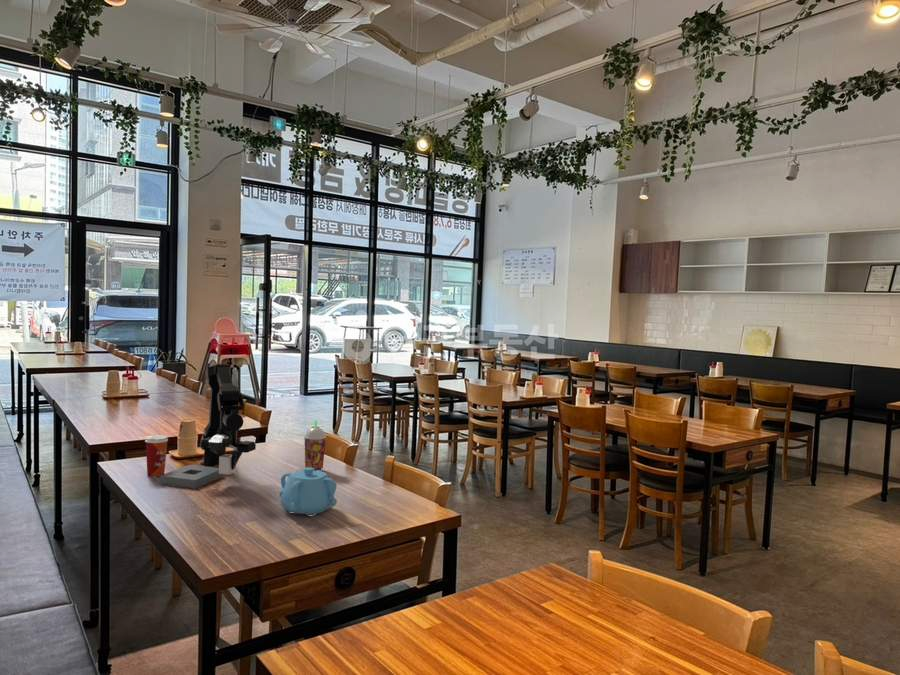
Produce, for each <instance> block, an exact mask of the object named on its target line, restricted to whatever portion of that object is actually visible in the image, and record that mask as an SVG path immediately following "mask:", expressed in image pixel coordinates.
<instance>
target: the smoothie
mask: <svg viewBox="0 0 900 675" xmlns="http://www.w3.org/2000/svg"><path fill="white" fill-rule="evenodd" d="M317 422H318V421H317V419H316V420H315V419H314V427H311V428H309V429H308V430H307V431H306V433H305V435H304V436H303V438H304V468H307V467H311V468H314V471H317V470H321V469H323V468H324V461H325V452H326V451H325V449H326V441H327V440H326V439H327V435H326V433H325V431H324V430H323V429H322V428H320V427H318V425H317V424H318V423H317ZM321 471H322V470H321Z"/></svg>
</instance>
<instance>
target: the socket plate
mask: <svg viewBox="0 0 900 675" xmlns="http://www.w3.org/2000/svg"><path fill="white" fill-rule="evenodd" d="M223 475H224V474H219V467H215V466H206V465H204V466H203V465H196V464H188V465H185V466H182V467H180V468H177V469H174V470H171V471H168V472H166V473H164V474H163V475H160V476H159V485H163V484H167V485H166V486H171V485H173V487H178V486H181V487H180V488H186V487H189V488H188V489H194V488H196V489H198V488H200V487H202V486H204V485H207V484H209V483H211V482H213V481H215V480H216V481H217V480H218V479H220V478H222V477H223ZM197 487H198V488H197Z"/></svg>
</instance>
